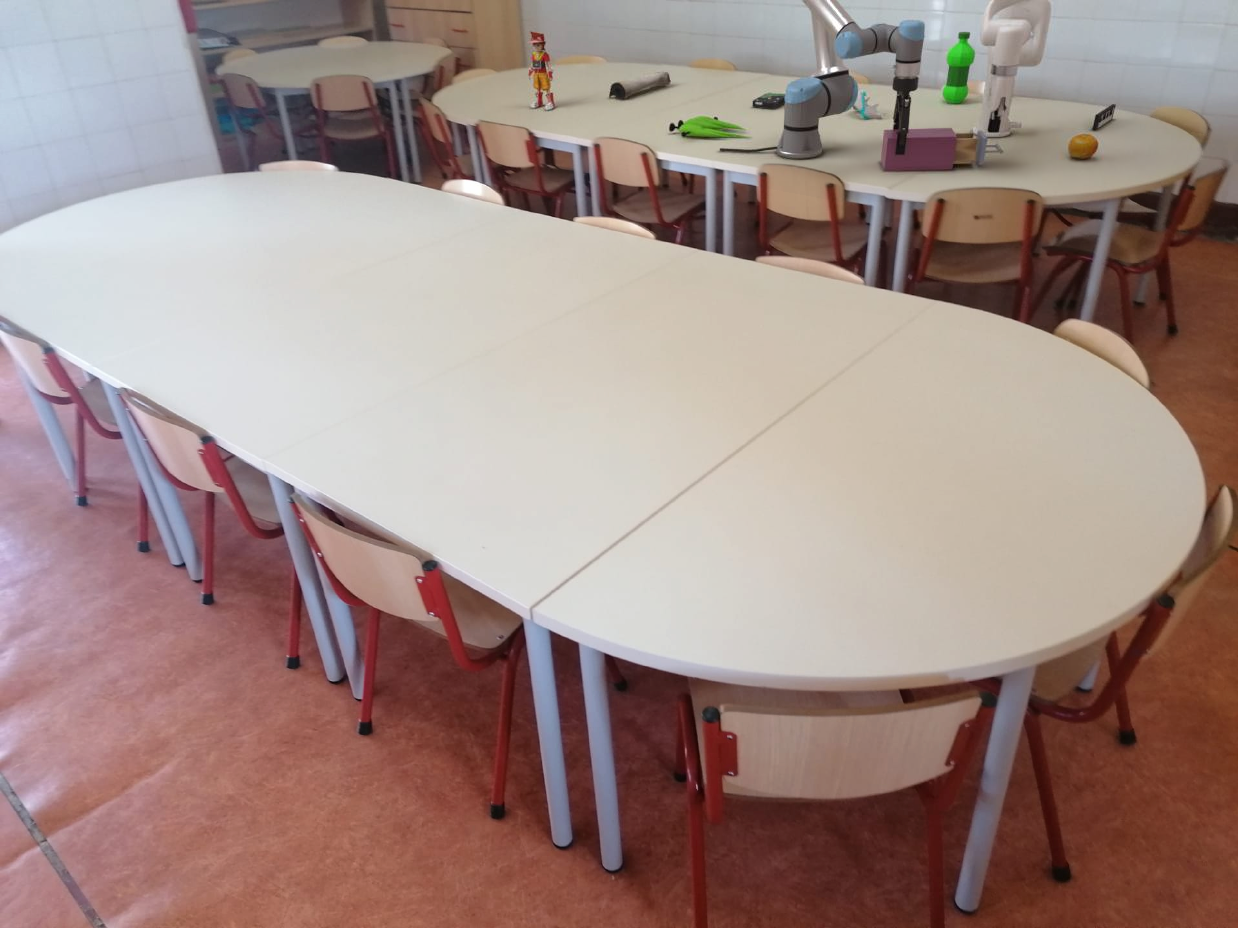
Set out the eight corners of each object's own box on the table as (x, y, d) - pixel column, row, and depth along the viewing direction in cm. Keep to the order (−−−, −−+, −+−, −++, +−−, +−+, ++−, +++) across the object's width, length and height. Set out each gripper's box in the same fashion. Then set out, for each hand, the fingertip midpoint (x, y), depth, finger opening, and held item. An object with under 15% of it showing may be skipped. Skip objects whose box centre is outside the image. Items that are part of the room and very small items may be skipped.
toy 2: (658, 135, 331) (731, 150, 319) (659, 121, 329) (733, 135, 316) (693, 123, 352) (763, 136, 339) (694, 110, 349) (765, 122, 336)
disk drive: (775, 110, 359) (790, 101, 369) (775, 102, 358) (790, 94, 368) (751, 108, 364) (767, 99, 374) (752, 100, 362) (767, 92, 372)
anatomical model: (844, 88, 347) (870, 81, 346) (847, 115, 353) (872, 108, 352) (856, 97, 335) (882, 90, 334) (858, 125, 341) (884, 118, 340)
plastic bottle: (973, 101, 354) (984, 32, 339) (955, 106, 349) (966, 36, 335) (952, 97, 361) (962, 29, 346) (934, 102, 356) (944, 33, 342)
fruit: (1064, 149, 286) (1082, 126, 283) (1061, 151, 293) (1078, 129, 290) (1086, 163, 284) (1105, 141, 281) (1083, 166, 292) (1101, 144, 289)
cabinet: (946, 160, 294) (951, 127, 288) (952, 169, 286) (957, 136, 280) (880, 161, 297) (884, 129, 291) (884, 171, 289) (887, 138, 283)
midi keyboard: (1095, 130, 313) (1099, 115, 310) (1091, 129, 314) (1095, 115, 311) (1112, 119, 323) (1116, 104, 320) (1108, 118, 324) (1112, 104, 321)
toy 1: (525, 109, 381) (517, 32, 364) (534, 104, 388) (527, 28, 371) (550, 110, 377) (543, 32, 360) (559, 105, 384) (553, 28, 367)
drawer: (995, 156, 291) (1000, 130, 286) (1002, 164, 284) (1006, 137, 279) (914, 158, 294) (917, 132, 290) (918, 166, 287) (922, 140, 282)
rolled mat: (651, 76, 408) (662, 61, 399) (662, 93, 408) (674, 79, 400) (605, 92, 391) (616, 77, 383) (617, 110, 391) (628, 95, 383)
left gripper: (889, 69, 286) (881, 140, 299) (898, 85, 268) (889, 160, 280) (913, 68, 285) (904, 139, 298) (924, 84, 267) (914, 159, 279)
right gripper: (986, 64, 279) (975, 125, 289) (996, 76, 267) (985, 139, 278) (1011, 64, 278) (1000, 124, 288) (1022, 75, 266) (1010, 138, 276)
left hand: (897, 149), depth 289 cm, fingers closed on cabinet, 10 cm apart
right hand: (993, 131), depth 283 cm, fingers closed
